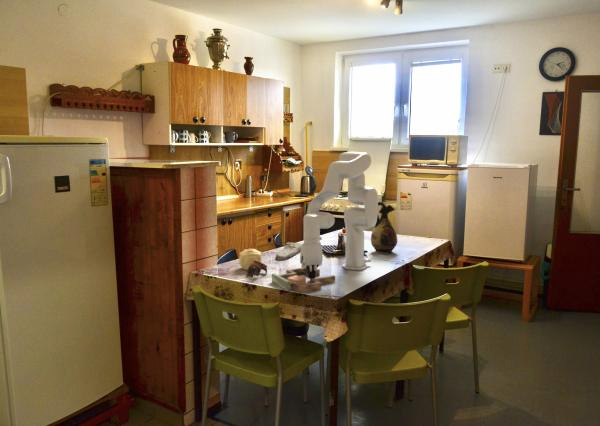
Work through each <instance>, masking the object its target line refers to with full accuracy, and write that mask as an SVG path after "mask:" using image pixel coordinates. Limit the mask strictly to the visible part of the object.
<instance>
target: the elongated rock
mask: <svg viewBox="0 0 600 426" xmlns="http://www.w3.org/2000/svg"><path fill="white" fill-rule="evenodd" d="M302 244H303V243H299V242H298V243H297V242H296V243H295V242H293V241H291V242H286V243H285V247H284V248H283V249H282V250H280V251H279V252H277V253H275V254H276V255H275V259H276V260H277V261H286V260H287V259H290V258H293V256H296V255H297V254H298V253H301V246H302Z"/></svg>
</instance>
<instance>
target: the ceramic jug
mask: <svg viewBox="0 0 600 426" xmlns="http://www.w3.org/2000/svg"><path fill="white" fill-rule="evenodd" d="M379 206H381V207H382V208H380V209H379V211H378V213H380V214H381V216H380V217H379V215H378V214H377V222H376V224H375V226H373V227H374V228H373V229H372V231H371V236H370V243H371V244H370V245H372V247H373V249H374V250H375V253H377V254H382V255H391V254H392V253H393V251H394V250H395V248H396V247H397V244H398V236H397V235H398V234H397V231H396V229H395V227H394V225H393V223H392V222H391V221H390V219H389V217H388V214H389V213H392V212H394V211H396V208H394V207H393V206H392V205H391V204H388V205H387V206H386V204H385V203H384V202H383V201H378V207H379Z"/></svg>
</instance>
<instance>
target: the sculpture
mask: <svg viewBox="0 0 600 426" xmlns="http://www.w3.org/2000/svg"><path fill="white" fill-rule="evenodd" d="M254 260H255V261H259V262H261V263H262V261H263V260H262V252H261V251H259V250H257V249H256V248H248V249H246V248H244V249H243V250H242V251H240V252H239V258H238V264H239V266H240V268H242V270H245V271H248V268H249V265H250V264H251V263H253V262H254ZM254 268H255V267H254Z"/></svg>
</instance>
